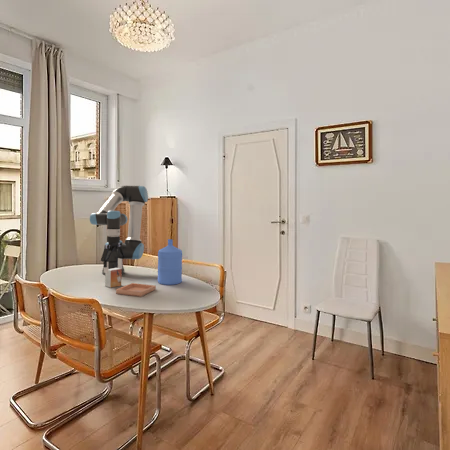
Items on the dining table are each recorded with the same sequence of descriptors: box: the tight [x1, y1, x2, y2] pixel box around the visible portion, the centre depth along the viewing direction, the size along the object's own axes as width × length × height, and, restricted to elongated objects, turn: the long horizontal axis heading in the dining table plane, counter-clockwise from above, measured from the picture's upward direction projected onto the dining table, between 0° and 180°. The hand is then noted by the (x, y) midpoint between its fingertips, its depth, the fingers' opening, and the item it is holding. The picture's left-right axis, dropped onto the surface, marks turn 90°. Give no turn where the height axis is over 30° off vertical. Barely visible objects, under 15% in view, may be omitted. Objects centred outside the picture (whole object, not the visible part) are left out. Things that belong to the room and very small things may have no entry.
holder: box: [115, 282, 157, 298], centre depth 190 cm, size 16×16×2 cm
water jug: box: [157, 238, 183, 286], centre depth 213 cm, size 16×16×28 cm
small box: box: [104, 268, 123, 288], centre depth 201 cm, size 8×6×10 cm
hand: (113, 270), depth 200 cm, fingers open, 13 cm apart
